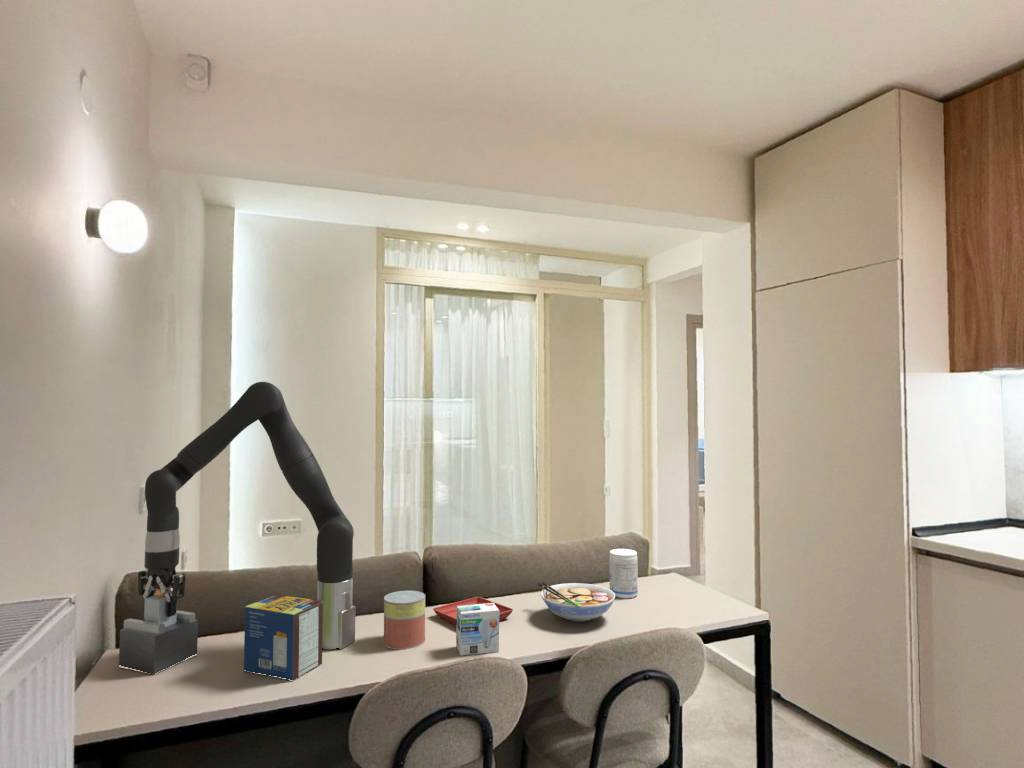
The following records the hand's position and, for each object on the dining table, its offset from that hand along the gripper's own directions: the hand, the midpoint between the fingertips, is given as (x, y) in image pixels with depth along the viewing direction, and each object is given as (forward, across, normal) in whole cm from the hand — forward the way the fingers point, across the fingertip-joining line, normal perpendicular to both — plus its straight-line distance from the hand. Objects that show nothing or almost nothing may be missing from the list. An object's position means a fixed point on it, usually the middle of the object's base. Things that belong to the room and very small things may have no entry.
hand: (160, 614), depth 146 cm
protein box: (+12, -32, -8) cm, 35 cm away
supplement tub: (+12, -100, -95) cm, 138 cm away
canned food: (+12, -51, -33) cm, 62 cm away
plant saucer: (+12, -61, -56) cm, 84 cm away
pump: (+3, 0, 0) cm, 3 cm away
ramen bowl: (+12, -91, -67) cm, 114 cm away
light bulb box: (+12, -72, -35) cm, 81 cm away
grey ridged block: (+12, 0, 0) cm, 12 cm away
